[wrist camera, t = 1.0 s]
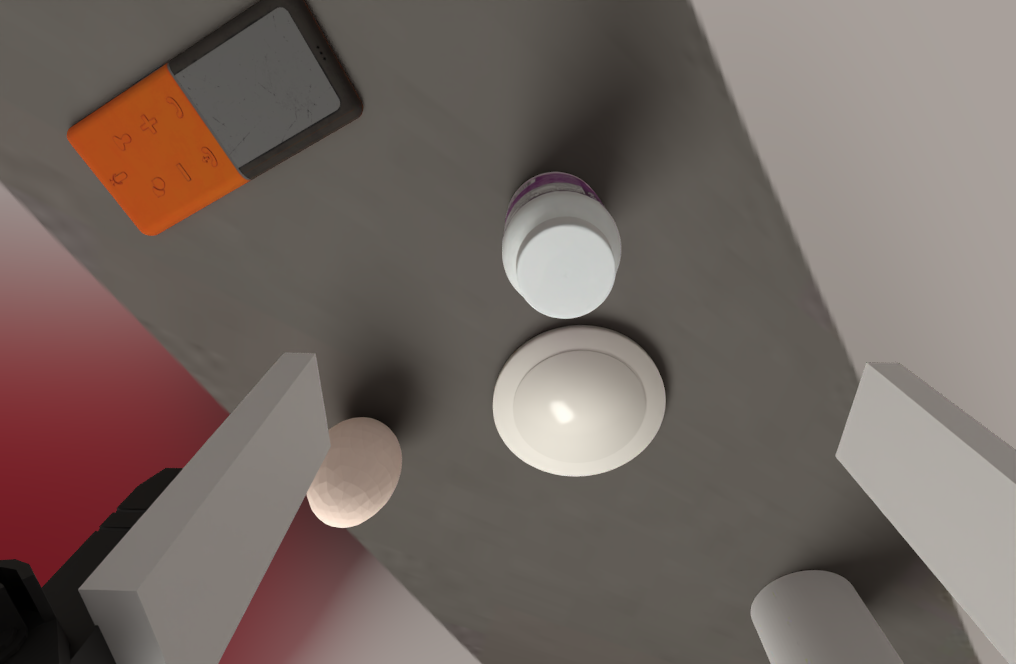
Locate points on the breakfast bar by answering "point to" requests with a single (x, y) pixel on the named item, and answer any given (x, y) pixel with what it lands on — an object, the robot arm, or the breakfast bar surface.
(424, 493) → the breakfast bar surface
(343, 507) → the egg
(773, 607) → the white upright cylinder
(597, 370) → the saucer
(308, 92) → the phone
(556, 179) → the pill bottle
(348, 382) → the breakfast bar surface
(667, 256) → the breakfast bar surface
